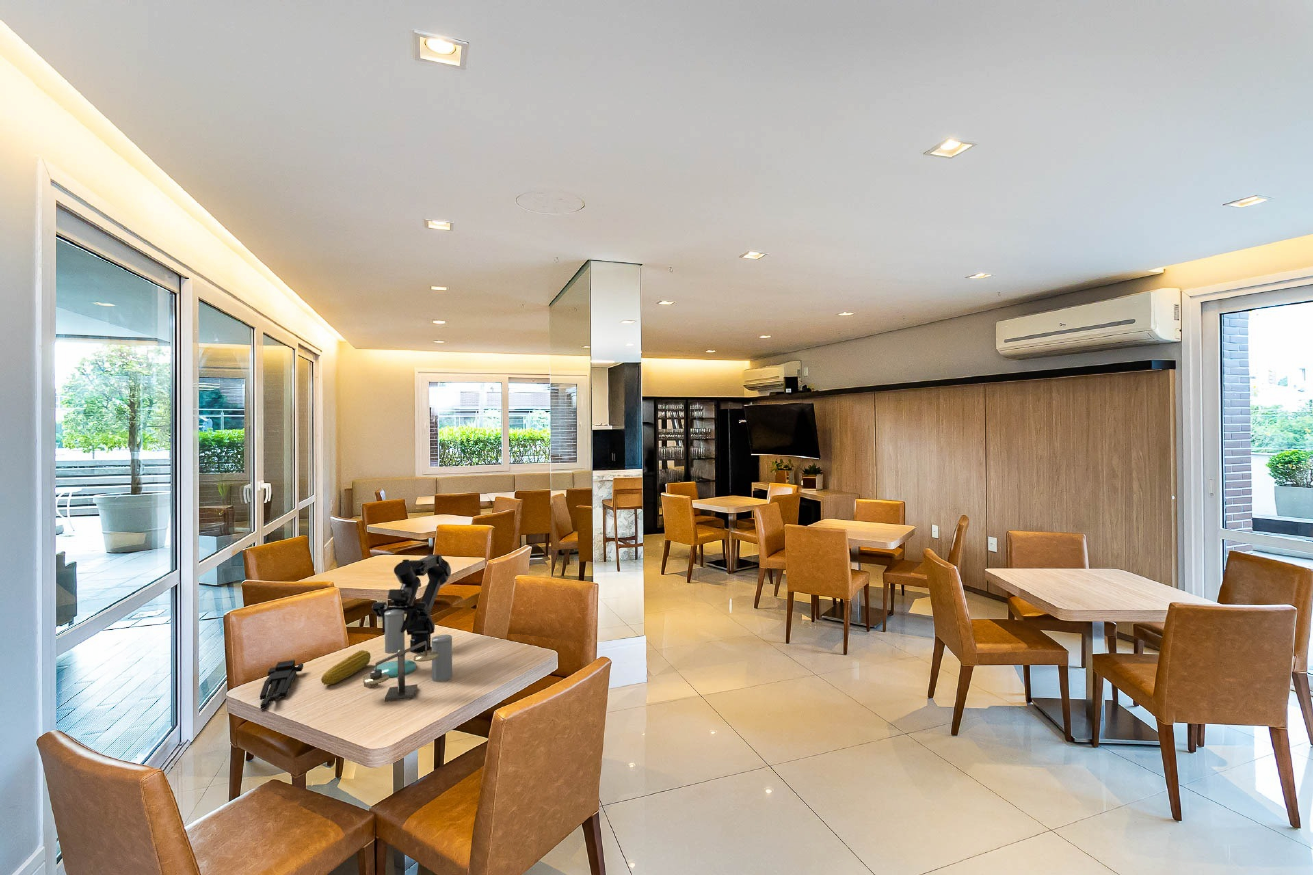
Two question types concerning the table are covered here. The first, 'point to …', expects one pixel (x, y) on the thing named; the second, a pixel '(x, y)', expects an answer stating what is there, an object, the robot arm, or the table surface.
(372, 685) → the block
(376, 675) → the balance
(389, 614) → the cup
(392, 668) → the dish
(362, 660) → the food
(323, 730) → the table surface
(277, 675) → the toy
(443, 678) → the cup
